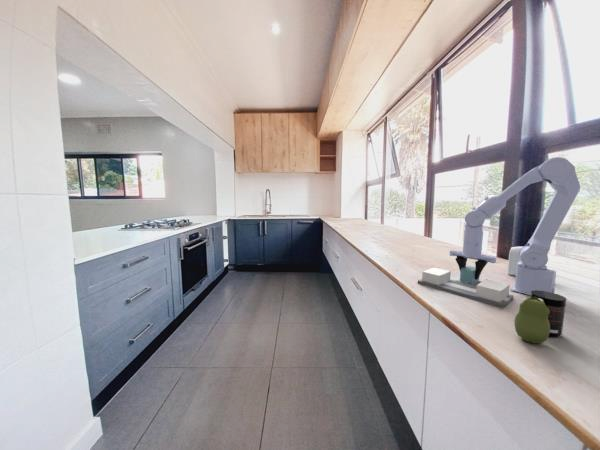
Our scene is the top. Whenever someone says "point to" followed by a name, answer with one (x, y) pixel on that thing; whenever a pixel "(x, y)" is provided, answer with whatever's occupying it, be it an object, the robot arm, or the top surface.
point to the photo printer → (513, 260)
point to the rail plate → (468, 287)
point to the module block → (468, 275)
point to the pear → (533, 320)
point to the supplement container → (553, 310)
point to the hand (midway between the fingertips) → (469, 277)
